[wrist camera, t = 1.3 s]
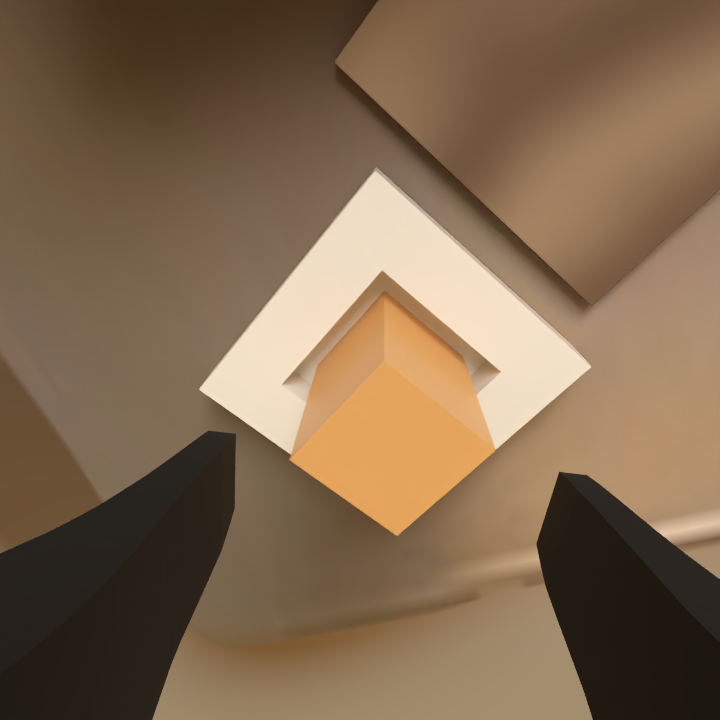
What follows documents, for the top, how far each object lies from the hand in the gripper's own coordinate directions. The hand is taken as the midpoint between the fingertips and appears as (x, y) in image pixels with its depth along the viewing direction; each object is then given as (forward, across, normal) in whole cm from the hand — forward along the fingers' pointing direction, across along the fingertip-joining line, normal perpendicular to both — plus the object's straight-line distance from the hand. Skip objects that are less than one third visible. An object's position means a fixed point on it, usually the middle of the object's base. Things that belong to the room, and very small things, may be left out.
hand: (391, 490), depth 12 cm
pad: (+9, -5, -10) cm, 14 cm away
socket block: (+10, 0, +1) cm, 10 cm away
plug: (+9, 0, +1) cm, 9 cm away
